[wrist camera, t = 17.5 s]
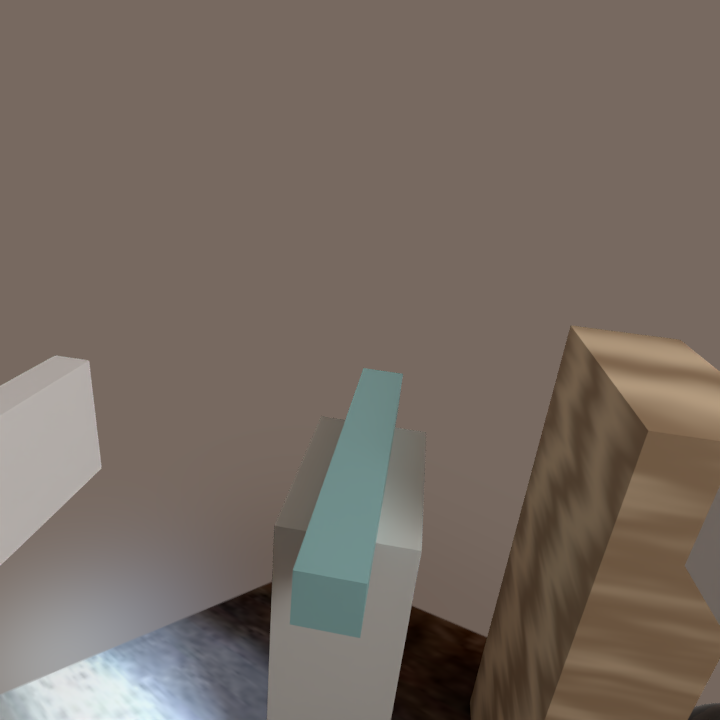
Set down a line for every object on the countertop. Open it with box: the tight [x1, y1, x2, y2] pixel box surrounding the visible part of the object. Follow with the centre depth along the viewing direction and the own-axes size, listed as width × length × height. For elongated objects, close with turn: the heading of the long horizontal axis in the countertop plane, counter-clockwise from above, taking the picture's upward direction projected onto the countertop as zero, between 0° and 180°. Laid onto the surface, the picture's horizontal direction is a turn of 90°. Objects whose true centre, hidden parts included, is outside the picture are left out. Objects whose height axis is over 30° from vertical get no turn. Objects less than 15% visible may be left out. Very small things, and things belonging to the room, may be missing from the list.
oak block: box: [470, 326, 720, 720], centre depth 36 cm, size 14×7×38 cm, turn 172°
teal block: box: [290, 368, 403, 638], centre depth 36 cm, size 24×4×4 cm, turn 172°
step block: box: [267, 417, 426, 720], centre depth 43 cm, size 14×9×26 cm, turn 172°
